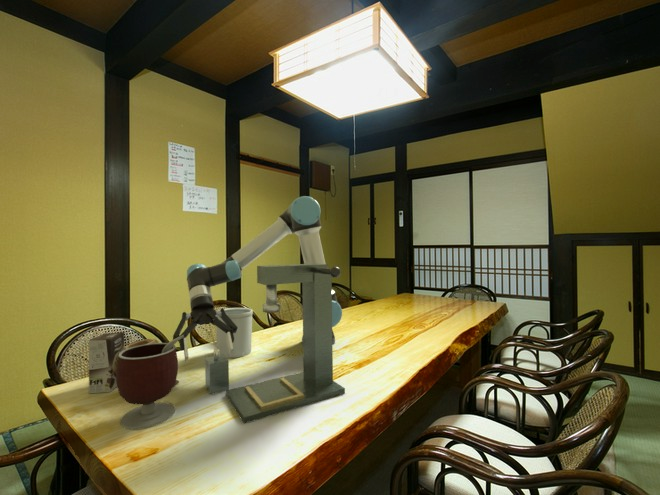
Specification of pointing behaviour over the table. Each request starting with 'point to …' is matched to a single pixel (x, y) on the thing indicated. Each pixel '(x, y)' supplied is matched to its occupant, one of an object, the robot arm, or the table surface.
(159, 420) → the mate gourd
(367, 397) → the table surface
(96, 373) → the coffee box
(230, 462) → the table surface
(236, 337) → the utensil holder
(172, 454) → the table surface
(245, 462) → the table surface
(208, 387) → the block
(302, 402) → the press
